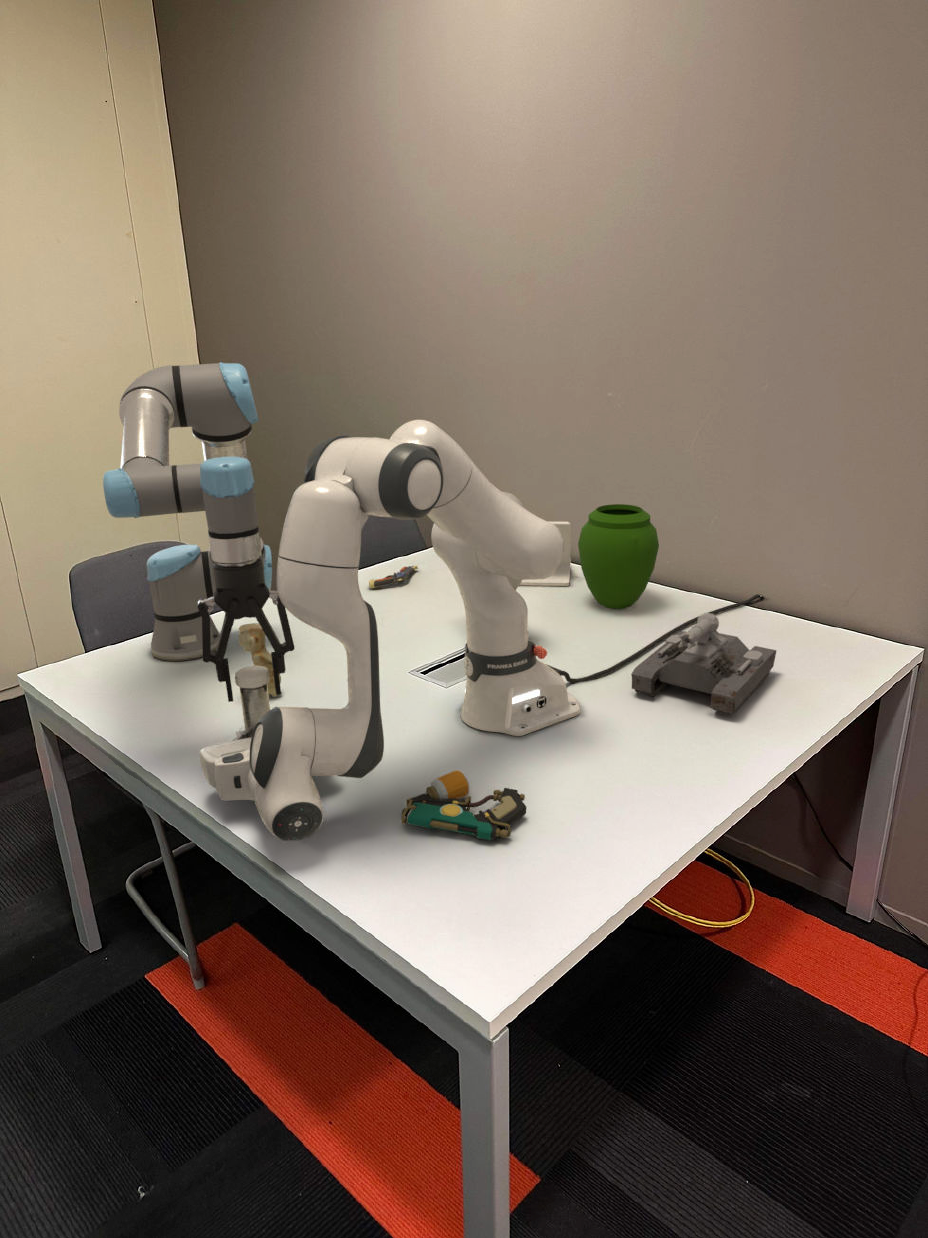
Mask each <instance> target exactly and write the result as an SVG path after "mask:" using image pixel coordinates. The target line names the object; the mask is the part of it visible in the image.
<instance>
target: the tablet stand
mask: <svg viewBox="0 0 928 1238" xmlns="http://www.w3.org/2000/svg"><path fill="white" fill-rule="evenodd" d="M548 522H549V523H552V524H554V525H555V526H556V527H557V528H558V529H559V531H560V533H561V535H562V538H563V542H564V554H563V558H562V561H561V563H560V565H559V567H558V568H557V570H556V571H555V572H554V573H553V574H552V575H551V576H550V577H548V578H546V579H536V580H522V581H521V582H520V584H519V586H541V587H542V586H543V587H544V586H545V587H546V586H547V587H549V586H551V587H556V586H557V587H569V586H570V580H571V579H570V578H571V565H572V564H571V560H572V558H571V522H569V521H548Z"/></svg>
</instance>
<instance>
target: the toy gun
mask: <svg viewBox="0 0 928 1238" xmlns="http://www.w3.org/2000/svg"><path fill="white" fill-rule="evenodd" d="M418 569H419V566H418V565H409V566H403V567H402V568H401V569H400V570H399V571H397V572H393V574H389V575H387V576H385V577H383V578H379V579H374V578H372V579H370V580H369V581H368V587H369V589H374V588H379V587H384V586H387V585H392V584H394V583H399V582H400V583H401V582H405V581H406V579H408V578H409V577H410V576H411V574H412V573H413V572H415V571H416V570H418Z"/></svg>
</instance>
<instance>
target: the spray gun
mask: <svg viewBox="0 0 928 1238" xmlns="http://www.w3.org/2000/svg"><path fill="white" fill-rule="evenodd" d="M470 789H471V786H470V782H469V779H468V777H467V775H466V774H465V773H464V772H462V771H461V770H459V769H457V770H453V771H450V772H448V773H446V774H443V775H441V776H439V777H437V778H434V779H433V780H432V781H431V782H430V783H429V786H427V787H426V789H425V793H422V794H418V795H415V796H412V797H409V798H407V799H406V800H405V801H406V803H405V804H406V807H405V808H403V809H402V810H401V825H406V824H408V825H412V826H417V827H422V828H426V829H439V830H445V831H449V832H455V833H461V834H465V835H471V836H473V837H476V838H477V839H481V840H487V841H493V840H496V838H497V837H501V838H503V839H507V838H509V837H511V833H512V828H511V825H513V824H514V823H515V822H517V821H518V820H519V819H521V818H522V817H523V816H524V815H526V814H527V805H526V803H524V802H523V801H525V799H526V795H525V794H524V793H519V792H518V791H519V790H518V789H514V788H510V787H509V788H508V787H504V788H503V790H500V789H494V790H493V794H489V795H487V796H484V797H483V798H482V799H480V800H478V801H475V802H472V796H471V795H468V794H469V792H470ZM464 797H466V798H465V800H464V799H461V798H464ZM489 801H493V802H499V805H497V806H495V807H493V808H492V809H486V812H484V811H483V810H482V809H480V810H478V813H476V814H474V813H473V812H471V811H470V810H471V809H472V808H477V807H480V806H482V805H484V804H486V803H487V802H489Z"/></svg>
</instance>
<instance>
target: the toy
mask: <svg viewBox="0 0 928 1238" xmlns="http://www.w3.org/2000/svg"><path fill="white" fill-rule="evenodd" d="M719 626H720V622H719V618H718V617H717V616H716V614H710V613H708V612H704V613H702V614H701V615H699V618H698V620H697V621H696V624H694V626H692V627H691V628H690V629H688V631H686V630H679V631H678V632H676V634H672V635H670V636H669V637H667V638H666V639H665V642H664V643H663V644H662V645H661V646H659V648H657V649H656V650H655V651H653V653H651V654H650V655H648V656H647V658H645V659H644V660H643V661H641V662H640V663H639V664H638V665H637V666H635V667H634V669H633V670H632V672H631V674H630V675H631V690H634V692H636V693H639V694H642V695H646V696H651V697H655V696H656V695H657V694H659V693H660V691H662V690H663V689H664V688H665V687H667V685H670V686H674V687H675V686H676V687H679V688H684V689H687V690H693V691H696V692H701V693H704V694H709V695H710V709H713V710H714V711H718V712H721V713H726V714H729V715H735V714H736V713H737V712H738V710H739V709H740V708H741V707H742V706H743V705H744V704H745V703H746V701H748V699H749V698H750V697H751V696H752V695H753V694H754V693H755V691H756V690H757V689H758V688H759V687H760V686H761V685H762V683H763V682H764V681H765V680H766V679H767V678H768V677H769V675H770V673H771V670H772V669H773V668H774V667H775V666H774V665H775V661H776V655H777V650H776V649H773V648H769V647H768V648H767V647H763V646H757V645H754V646H752V648H751V649H749V647H747V646H746V644H745V643H744V642H743V641H742V640H741V639H740V638H739V636H736V635H731V634H726V633H720V632H719V631H718V628H719Z"/></svg>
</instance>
